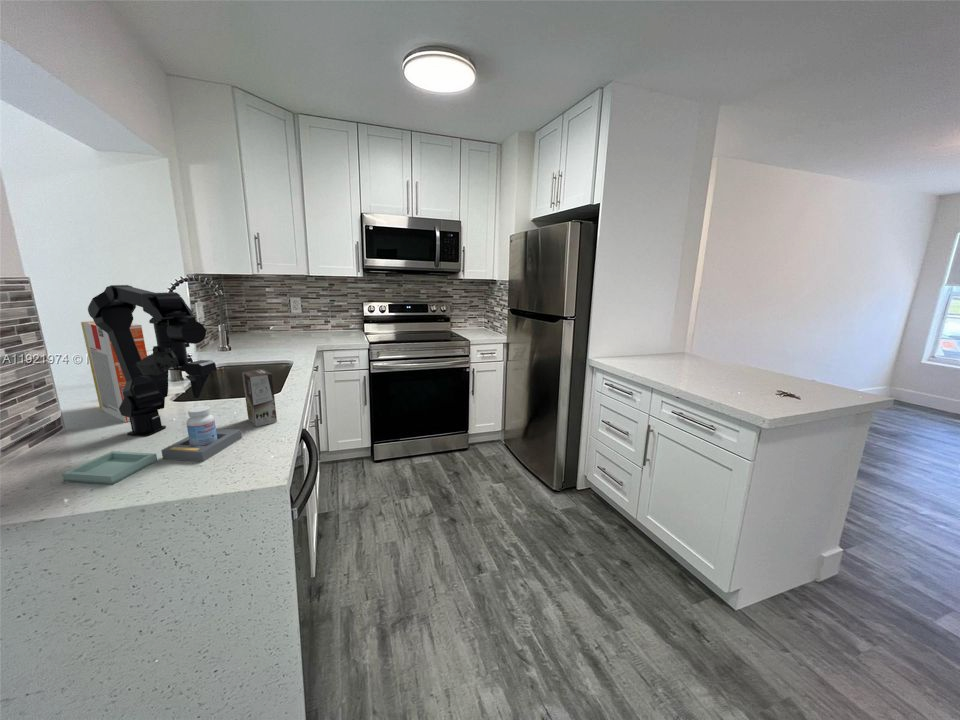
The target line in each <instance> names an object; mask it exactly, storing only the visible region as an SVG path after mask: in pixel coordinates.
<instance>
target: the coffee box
mask: <svg viewBox="0 0 960 720" xmlns="http://www.w3.org/2000/svg"><path fill="white" fill-rule="evenodd" d="M241 374H242V382H243V390H244V391H243V392H244V396H245V397H244V398H245V405H246V410H247V411H246V412H247V418H248V421H249V422H251V423H252V425H254V427H256V428H257V427H261V426H266V425H271V424H274V423H277V422H278V420H277V417H278V416H277V409H276V399H275V390H274V381H273V373H271V372H270V371H268V370H266V369H264V368H258V369H253V370H249V371H242V372H241Z"/></svg>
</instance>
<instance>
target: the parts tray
mask: <svg viewBox="0 0 960 720" xmlns="http://www.w3.org/2000/svg"><path fill="white" fill-rule="evenodd" d="M156 462H158V456H157V453H151V452H149V453H148V452H133V451H114V450H112V451H109V452H106V453H105V454H103V455H100V456H98V457H96V458H94V459H92V460H89V461H86V462H84V463H83V464H81V465H80V464H79V465H77V466H75V467H74V468H71V469H69V470H67V471H65V472H62V473H61V475H62V478H63V482H65V481H68V483H81V484H98V485H99V484H100V485H115V484H116V483H117V484H118V482H121V481H122V480H124V479H126V478H128V477H130V476H132V475H134V474H135V473H138V472H139V471H142V470H143V469H145V468H148V466H151V465H152V464H155V463H156Z"/></svg>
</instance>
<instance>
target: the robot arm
mask: <svg viewBox="0 0 960 720" xmlns="http://www.w3.org/2000/svg"><path fill="white" fill-rule="evenodd" d="M137 307H141V308H142V311H143V312H144V313H146V314H148V315H150V316H151V318H150V319H149V321H148V322H149V324H151V325H152V324H153V328H154V329H153V330H154V335H155V339H156V340H155V341H156V345H153V346H152V353H151V354H150V355H147V357H145V358H144V359H142V360H141V357H140V354H139V352H138V349H137V347H136V344H135V341H134V339H133V336H132V333H131V331H130V326H131V324H132V323H133V321H134V316H133V313H134V311H135V310H136V308H137ZM87 312H88V315H89V317H91V318H92V320H93V321H94V322H95V324H96V325H97V326H98V327H99V328H101V329H102V330H104V331H105V332H106V333H107V334H108V336H109V338H110V341H111V344H112V346H113V349H114V351H115V354H116V356H117V359H118V362H119V364H120V367H121V369H122V372H123V374H124V377H125V379H126V384H125V387H124V390H123V396H124V399H123V401H122V403H121V405H120V407H119V410H120V413H121V415H122V416H126V417H129V418H130V422H129V423H130V427H131V431H129V432H127V433H126V435H127V436H138V437H139V436H140V437H141V436H143V437H148V436H150V435H153V434H155V433H157V432H159V431H162V430H164V429H166V428H167V425H162V420H161V415H159V410H163V409H165V405H166V403H165V400H166V398H167V397H168V394H169V371H184V372H185V373H186V374H187V375H185V379H187V380H189V382H190V386H191V391H192V394H193V399H199V398H200V396H201V393H202V391H203V388H204V385H205V383H206V381H207V380H208V378H209V375H211V374H213V372H215V371H217V367H216V362H215V361H213V360H209V359H207V360H205V359H200V360H197V361H193V358H192V357H188V352H187V348H189V347H191V346H190V344H192V345H193V344H194V345H195V344H200V343H201V342H203V341H204V339H205V338H206V336H207V329H206V328H205V326H204V325H203V324H202V323H201V322H199V321H197V319H196V316H194V314H193V310H192V309H191V308H190V307H189V306H188V304H187V303H186V301H185V299H183V297H182V296H181V295H180V294H179V293H178V292H177V291H176V292H175V291H171V292H153V291H150V290H145V289H141V288H137V287H134V286H132V285H129V284H115V285H113V284H111V285H108V286H106V287H105V289H104V290H103V291H102V292H101V293H99V294H97V295H95V296H94V297H92V299H91V301H90V303H89V305H88V307H87Z"/></svg>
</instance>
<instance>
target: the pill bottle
mask: <svg viewBox="0 0 960 720" xmlns="http://www.w3.org/2000/svg"><path fill="white" fill-rule="evenodd" d="M187 411H188V412H187V413H188V416H189V418H188V419H187V420H186V428H187V435H188V436H189V442H190V445H192V446H207V445H209V444H211V443H212V442H214V441H216V440H218V439H217V433H216V429H217V427H216V421H215V417H214V415H212V414H210V413H211V409H210V407H209V406H208V405H207V406H206V405H201V406H196V407H192V408H190V409H188V410H187ZM188 436H187V437H188Z"/></svg>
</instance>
